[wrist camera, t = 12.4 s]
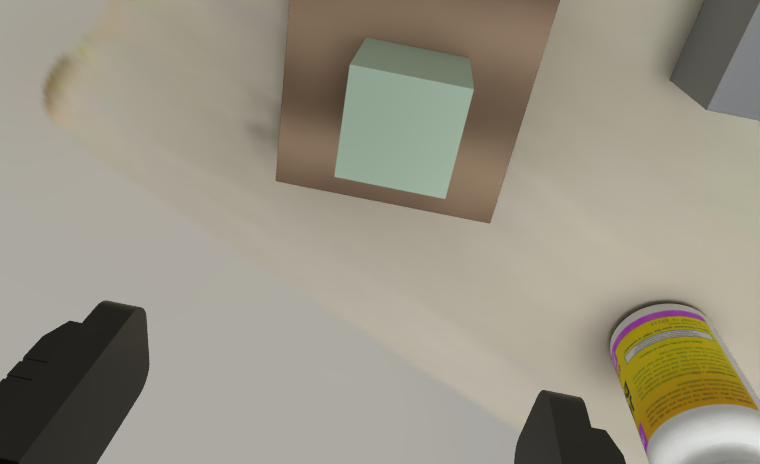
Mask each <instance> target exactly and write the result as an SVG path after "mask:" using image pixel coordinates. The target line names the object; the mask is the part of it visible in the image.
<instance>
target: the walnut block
mask: <svg viewBox="0 0 760 464" xmlns="http://www.w3.org/2000/svg"><path fill="white" fill-rule="evenodd" d="M559 1H560V0H290V3H289V16H288V29H287V42H286V55H285V68H284V80H283V93H282V106H281V119H280V132H279V145H278V157H277V170H276V181H278V182H283V183H288V184H293V185H298V186H303V187H308V188H313V189H318V190H323V191H328V192H334V193H339V194H344V195H349V196H354V197H359V198H364V199H369V200H374V201H379V202H384V203H389V204H394V205H399V206H404V207H409V208H414V209H419V210H424V211H429V212H434V213H439V214H444V215H449V216H454V217H460V218H465V219H470V220H475V221H480V222H485V223H490V222H491V219H492V215H493V212H494V209H495V206H496V203H497V199H498V196H499V193H500V190H501V187H502V183H503V180H504V177H505V174H506V171H507V167H508V164H509V161H510V158H511V155H512V151H513V148H514V145H515V142H516V139H517V135H518V132H519V129H520V126H521V123H522V119H523V116H524V113H525V110H526V107H527V103H528V100H529V97H530V94H531V91H532V87H533V84H534V81H535V78H536V75H537V72H538V68H539V65H540V62H541V59H542V56H543V52H544V49H545V46H546V43H547V40H548V36H549V33H550V30H551V27H552V24H553V20H554V17H555V14H556V11H557V8H558V4H559ZM366 37H367V38H372V39H377V40H382V41H387V42H392V43H397V44H402V45H407V46H412V47H417V48H422V49H427V50H432V51H437V52H442V53H447V54H452V55H457V56H462V57H467V58H470V61H471V69H472V77H473V85H474V91H473V95H472V99H471V103H470V106H469V110H468V114H467V118H466V122H465V126H464V129H463V133H462V137H461V141H460V145H459V149H458V152H457V156H456V160H455V164H454V168H453V172H452V175H451V179H450V183H449V187H448V191H447V195H446V198H445V199H443V198H438V197H433V196H428V195H423V194H418V193H413V192H408V191H403V190H398V189H393V188H388V187H383V186H378V185H373V184H368V183H363V182H358V181H353V180H348V179H343V178H338V177H334V175H335V168H336V161H337V154H338V146H339V139H340V132H341V125H342V118H343V110H344V103H345V96H346V89H347V82H348V74H349V67H350V63H351V62H352V60H353V58H354V57H355V55H356V53H357V52H358V50H359V48H360V47H361V45H362V43H363V42H364V40H365V38H366Z"/></svg>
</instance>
